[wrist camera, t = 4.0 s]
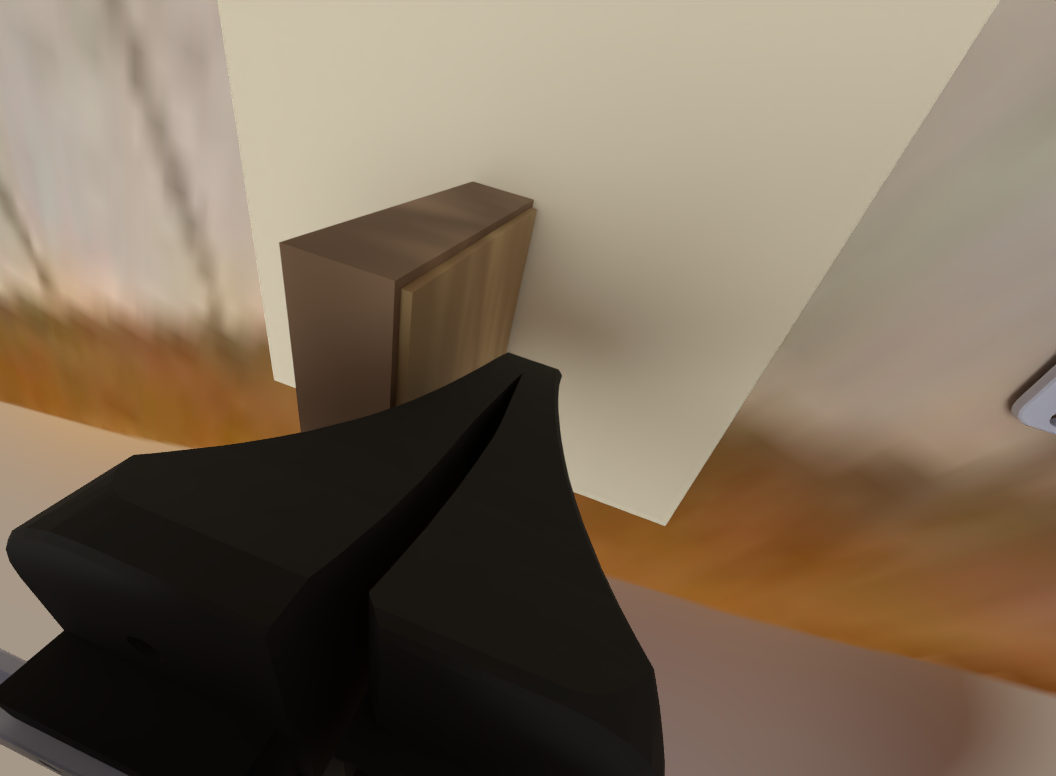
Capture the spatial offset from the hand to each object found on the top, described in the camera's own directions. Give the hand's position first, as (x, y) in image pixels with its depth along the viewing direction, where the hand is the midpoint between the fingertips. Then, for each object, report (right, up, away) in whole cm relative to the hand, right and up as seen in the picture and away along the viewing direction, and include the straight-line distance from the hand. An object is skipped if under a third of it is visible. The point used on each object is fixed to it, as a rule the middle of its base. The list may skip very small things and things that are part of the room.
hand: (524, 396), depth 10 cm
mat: (-1, +5, +5) cm, 7 cm away
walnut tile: (-1, +4, +5) cm, 6 cm away
